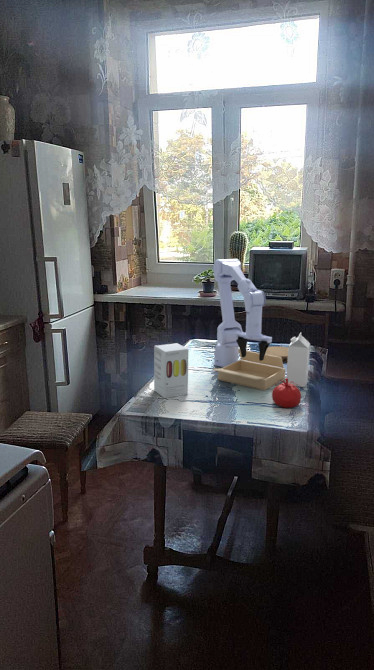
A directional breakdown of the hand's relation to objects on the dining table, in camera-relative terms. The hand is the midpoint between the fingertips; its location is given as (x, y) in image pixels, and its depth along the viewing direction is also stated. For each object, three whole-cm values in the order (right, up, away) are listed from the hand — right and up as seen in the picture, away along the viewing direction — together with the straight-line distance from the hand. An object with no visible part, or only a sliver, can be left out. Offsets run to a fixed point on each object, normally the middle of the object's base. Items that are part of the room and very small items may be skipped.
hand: (252, 358), depth 194 cm
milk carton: (+16, -10, -2) cm, 19 cm away
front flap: (-6, -5, -8) cm, 11 cm away
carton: (0, -8, +2) cm, 8 cm away
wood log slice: (+16, -1, +32) cm, 36 cm away
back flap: (+4, 0, +6) cm, 7 cm away
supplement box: (-31, -12, -12) cm, 35 cm away
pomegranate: (+8, -15, -23) cm, 28 cm away
